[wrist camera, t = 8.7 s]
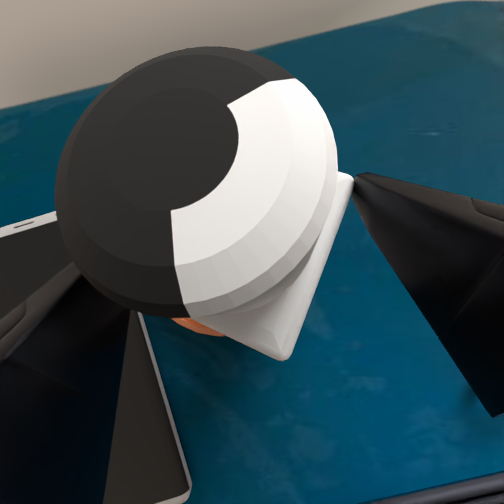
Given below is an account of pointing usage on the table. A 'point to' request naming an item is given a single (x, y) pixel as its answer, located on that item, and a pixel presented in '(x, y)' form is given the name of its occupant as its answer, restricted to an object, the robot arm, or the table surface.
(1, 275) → the smartphone
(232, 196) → the medicine bottle
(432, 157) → the table surface
